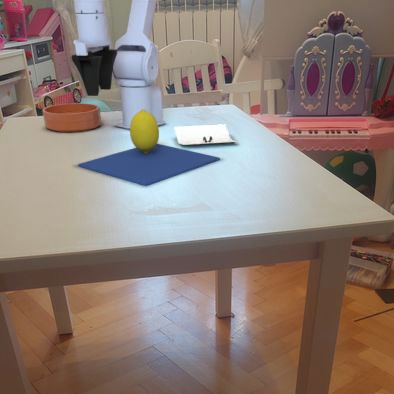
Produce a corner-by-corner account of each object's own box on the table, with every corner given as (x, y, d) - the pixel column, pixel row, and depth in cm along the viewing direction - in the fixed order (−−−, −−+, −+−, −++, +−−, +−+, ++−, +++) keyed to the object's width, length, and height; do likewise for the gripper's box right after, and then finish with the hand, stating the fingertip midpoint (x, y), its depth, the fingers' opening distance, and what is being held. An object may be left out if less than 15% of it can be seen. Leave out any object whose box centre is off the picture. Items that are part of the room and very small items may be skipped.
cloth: (153, 144, 104) (153, 142, 104) (219, 159, 95) (219, 157, 95) (78, 166, 92) (78, 164, 92) (145, 186, 83) (145, 183, 82)
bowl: (78, 118, 126) (76, 101, 124) (112, 125, 119) (110, 107, 117) (34, 127, 118) (31, 109, 116) (68, 136, 111) (65, 116, 109)
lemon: (161, 150, 99) (159, 106, 94) (157, 157, 95) (154, 112, 90) (134, 149, 100) (131, 106, 95) (129, 157, 95) (125, 112, 90)
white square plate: (183, 150, 100) (182, 140, 99) (174, 136, 110) (174, 126, 109) (240, 147, 102) (240, 137, 101) (226, 133, 112) (226, 124, 111)
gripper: (84, 11, 100) (93, 86, 108) (55, 14, 89) (67, 98, 97) (117, 11, 99) (124, 86, 107) (92, 14, 88) (101, 99, 96)
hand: (99, 92), depth 102 cm, fingers open, 7 cm apart
